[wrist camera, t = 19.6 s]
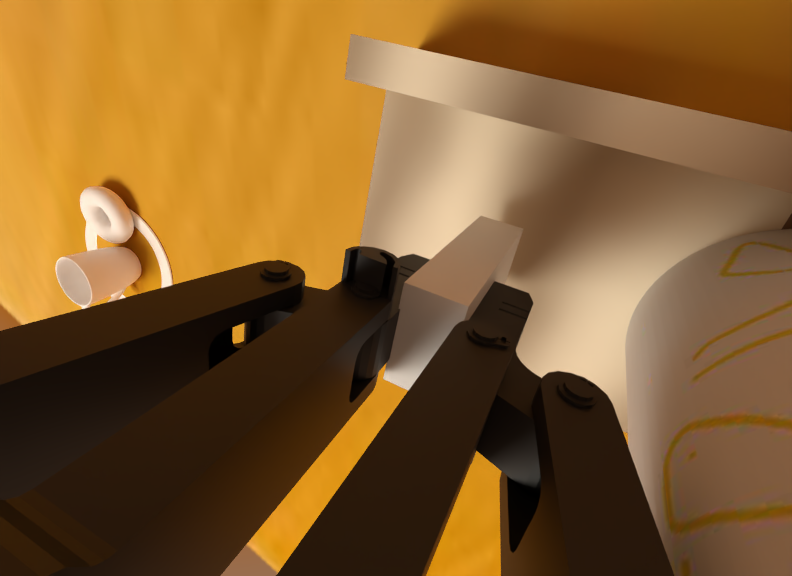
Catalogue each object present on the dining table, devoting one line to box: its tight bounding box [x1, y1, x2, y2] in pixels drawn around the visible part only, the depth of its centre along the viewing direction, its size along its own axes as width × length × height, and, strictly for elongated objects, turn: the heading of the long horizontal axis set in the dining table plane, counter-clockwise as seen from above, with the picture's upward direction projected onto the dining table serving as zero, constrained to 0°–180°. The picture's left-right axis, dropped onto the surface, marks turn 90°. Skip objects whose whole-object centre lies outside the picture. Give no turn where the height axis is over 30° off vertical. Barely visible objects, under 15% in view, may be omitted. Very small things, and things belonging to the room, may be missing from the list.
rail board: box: [345, 34, 792, 433], centre depth 14 cm, size 24×11×5 cm, turn 77°
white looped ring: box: [56, 186, 173, 309], centre depth 28 cm, size 9×8×4 cm
